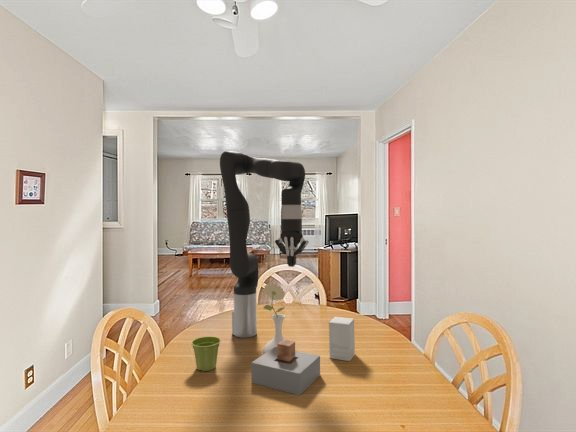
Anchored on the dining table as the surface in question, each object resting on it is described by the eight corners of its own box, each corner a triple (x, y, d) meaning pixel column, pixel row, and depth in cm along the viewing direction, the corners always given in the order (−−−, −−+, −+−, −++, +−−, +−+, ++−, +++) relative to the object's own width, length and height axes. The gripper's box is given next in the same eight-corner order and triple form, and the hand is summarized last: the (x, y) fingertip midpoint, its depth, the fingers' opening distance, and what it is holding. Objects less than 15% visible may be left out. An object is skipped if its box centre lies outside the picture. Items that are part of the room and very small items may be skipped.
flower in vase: (301, 354, 129) (301, 283, 129) (279, 364, 121) (278, 289, 120) (275, 345, 138) (274, 279, 137) (252, 354, 129) (252, 283, 129)
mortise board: (251, 382, 108) (251, 362, 108) (275, 364, 120) (275, 346, 120) (299, 395, 100) (299, 373, 100) (320, 374, 113) (320, 355, 113)
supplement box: (355, 353, 129) (355, 318, 129) (349, 361, 122) (349, 324, 122) (335, 350, 132) (335, 316, 132) (328, 358, 125) (328, 321, 125)
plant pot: (189, 364, 121) (189, 338, 121) (217, 359, 125) (217, 334, 125) (193, 376, 113) (193, 348, 112) (224, 370, 116) (223, 343, 116)
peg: (277, 377, 109) (276, 343, 109) (283, 371, 113) (283, 339, 113) (289, 379, 107) (289, 346, 107) (295, 374, 111) (295, 341, 111)
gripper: (312, 217, 130) (312, 266, 130) (280, 217, 136) (280, 263, 137) (303, 218, 124) (303, 269, 124) (269, 217, 130) (270, 266, 130)
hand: (291, 266), depth 130 cm, fingers closed
